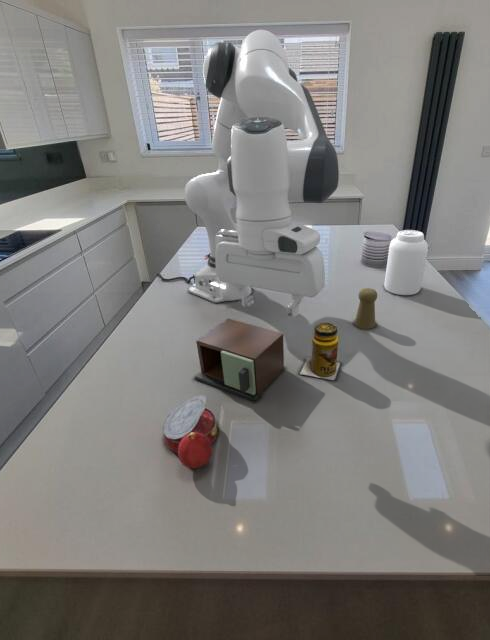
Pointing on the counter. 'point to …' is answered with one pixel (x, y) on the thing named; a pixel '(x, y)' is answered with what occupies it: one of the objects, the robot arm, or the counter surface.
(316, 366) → the condiment
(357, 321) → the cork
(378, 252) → the can
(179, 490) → the counter surface
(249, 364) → the sliding door
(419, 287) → the white jar
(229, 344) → the cabinet
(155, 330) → the counter surface
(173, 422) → the canned food
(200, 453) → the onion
